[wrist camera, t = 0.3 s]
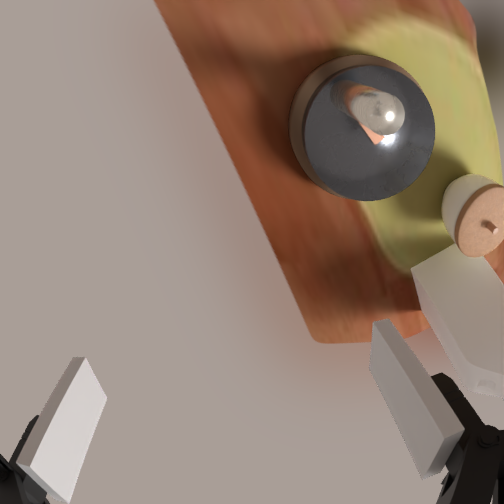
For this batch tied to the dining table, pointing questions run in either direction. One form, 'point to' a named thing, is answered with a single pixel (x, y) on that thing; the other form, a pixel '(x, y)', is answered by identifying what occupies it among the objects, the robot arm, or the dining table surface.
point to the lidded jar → (474, 214)
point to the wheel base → (306, 92)
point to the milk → (465, 316)
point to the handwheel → (368, 132)
